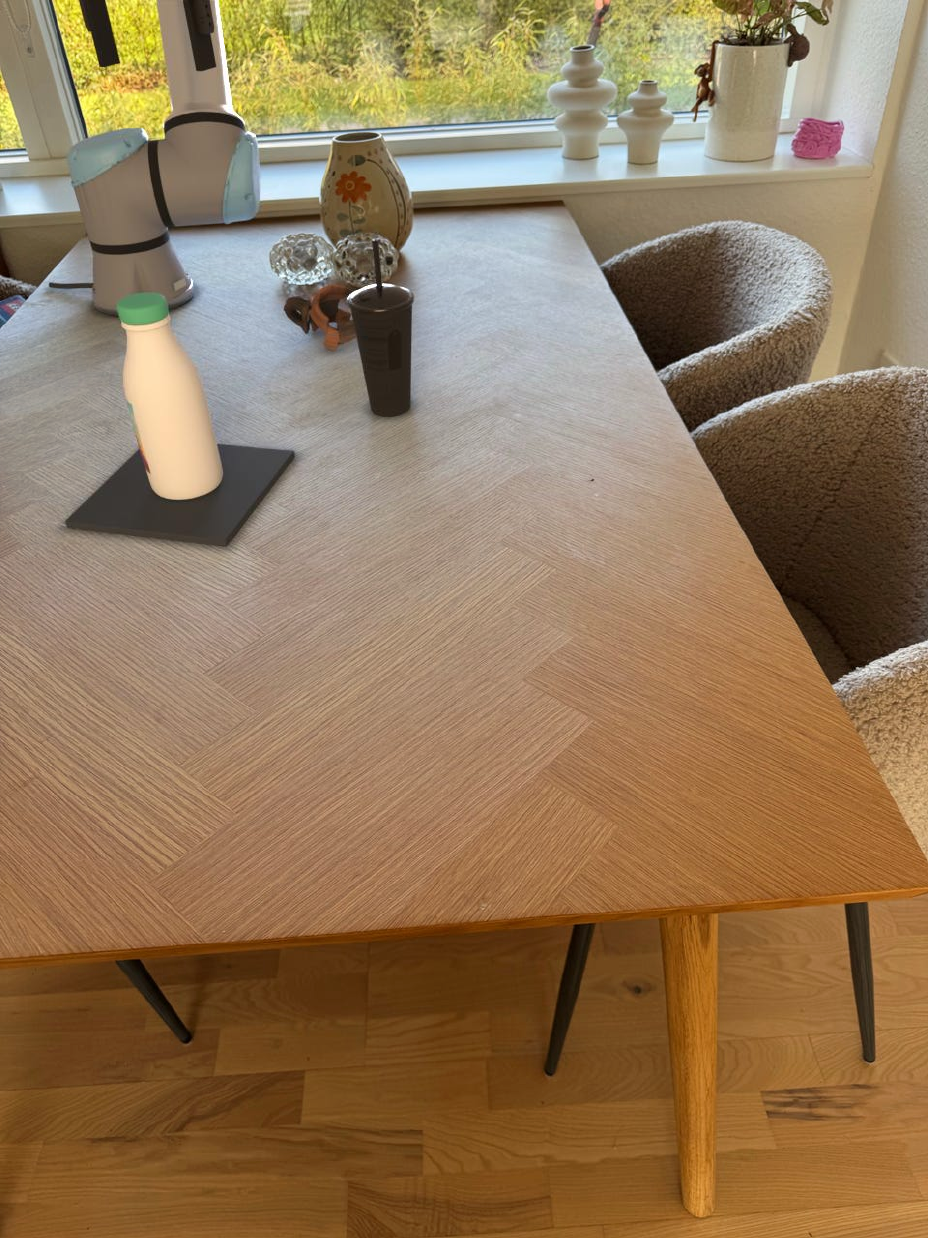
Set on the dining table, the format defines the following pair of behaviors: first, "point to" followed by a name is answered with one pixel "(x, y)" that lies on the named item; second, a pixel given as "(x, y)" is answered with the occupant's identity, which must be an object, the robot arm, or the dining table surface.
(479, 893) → the dining table surface
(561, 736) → the dining table surface
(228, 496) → the slate mat
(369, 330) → the drinking cup
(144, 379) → the milk bottle
